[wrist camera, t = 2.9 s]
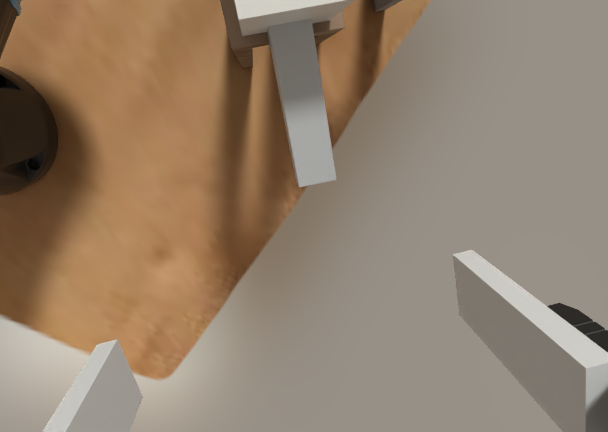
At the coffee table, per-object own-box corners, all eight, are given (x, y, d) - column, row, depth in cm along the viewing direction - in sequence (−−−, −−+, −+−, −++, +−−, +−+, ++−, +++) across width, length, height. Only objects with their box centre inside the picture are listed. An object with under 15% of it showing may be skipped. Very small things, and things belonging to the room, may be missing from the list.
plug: (273, 183, 25) (279, 212, 19) (220, -69, 20) (207, -128, 15) (351, 167, 25) (379, 191, 20) (315, -85, 21) (338, -149, 15)
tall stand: (242, 68, 49) (231, 48, 22) (229, 4, 46) (197, -102, 20) (295, 58, 49) (344, 27, 23) (284, -6, 47) (324, -123, 20)
